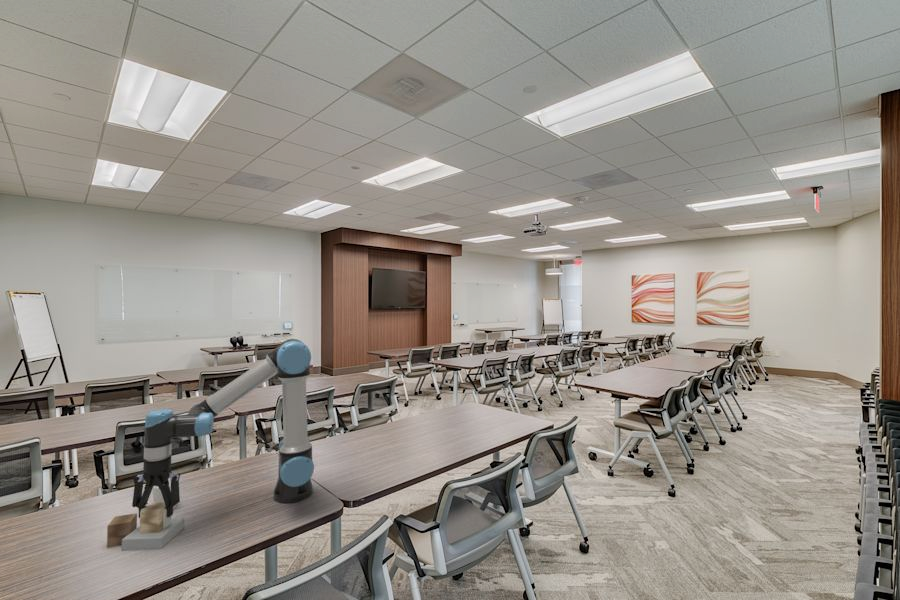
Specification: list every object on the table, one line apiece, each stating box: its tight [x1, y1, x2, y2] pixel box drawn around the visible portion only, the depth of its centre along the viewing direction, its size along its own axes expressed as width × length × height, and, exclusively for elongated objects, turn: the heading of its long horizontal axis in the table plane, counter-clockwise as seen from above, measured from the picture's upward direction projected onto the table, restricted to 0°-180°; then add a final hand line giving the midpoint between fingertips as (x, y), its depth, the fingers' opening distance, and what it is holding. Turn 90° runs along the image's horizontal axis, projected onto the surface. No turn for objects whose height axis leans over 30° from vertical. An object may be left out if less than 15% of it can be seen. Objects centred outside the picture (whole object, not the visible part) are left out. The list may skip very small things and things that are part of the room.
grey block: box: [121, 517, 185, 551], centre depth 131 cm, size 12×12×4 cm
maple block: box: [139, 502, 172, 533], centre depth 131 cm, size 6×6×7 cm
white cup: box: [152, 478, 177, 510], centre depth 150 cm, size 8×8×10 cm
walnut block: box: [106, 512, 138, 549], centre depth 130 cm, size 6×6×7 cm
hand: (155, 526), depth 131 cm, fingers open, 6 cm apart
